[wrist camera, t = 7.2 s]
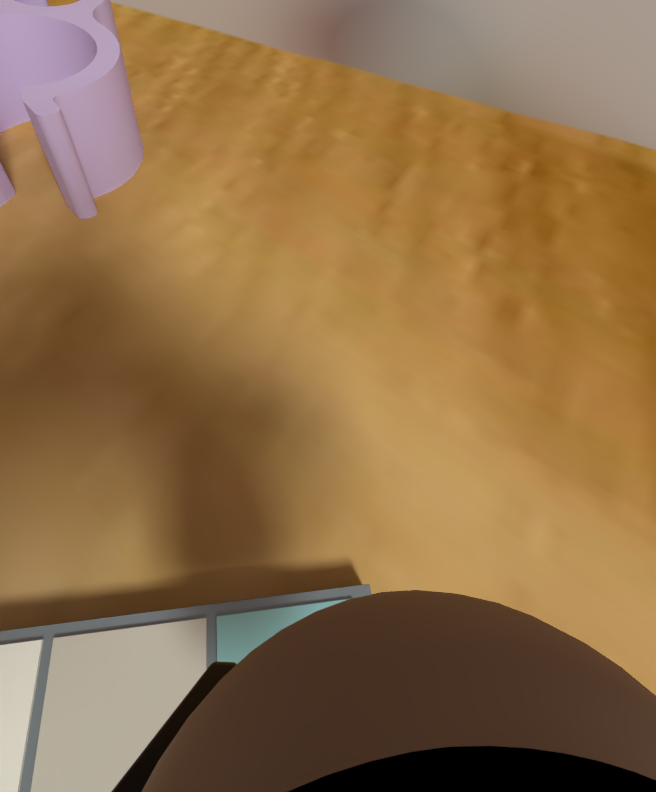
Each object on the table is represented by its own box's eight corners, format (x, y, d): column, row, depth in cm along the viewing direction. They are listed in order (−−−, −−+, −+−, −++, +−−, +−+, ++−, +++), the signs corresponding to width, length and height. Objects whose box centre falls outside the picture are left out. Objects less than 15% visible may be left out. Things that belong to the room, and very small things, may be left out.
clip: (11, 65, 40) (-33, -39, 34) (160, 77, 42) (142, -21, 36) (-71, 215, 30) (-153, 102, 24) (130, 222, 32) (99, 119, 26)
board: (364, 588, 21) (370, 583, 20) (408, 859, 16) (419, 873, 15) (-123, 651, 18) (-150, 649, 16) (-238, 1010, 13) (-287, 1042, 12)
